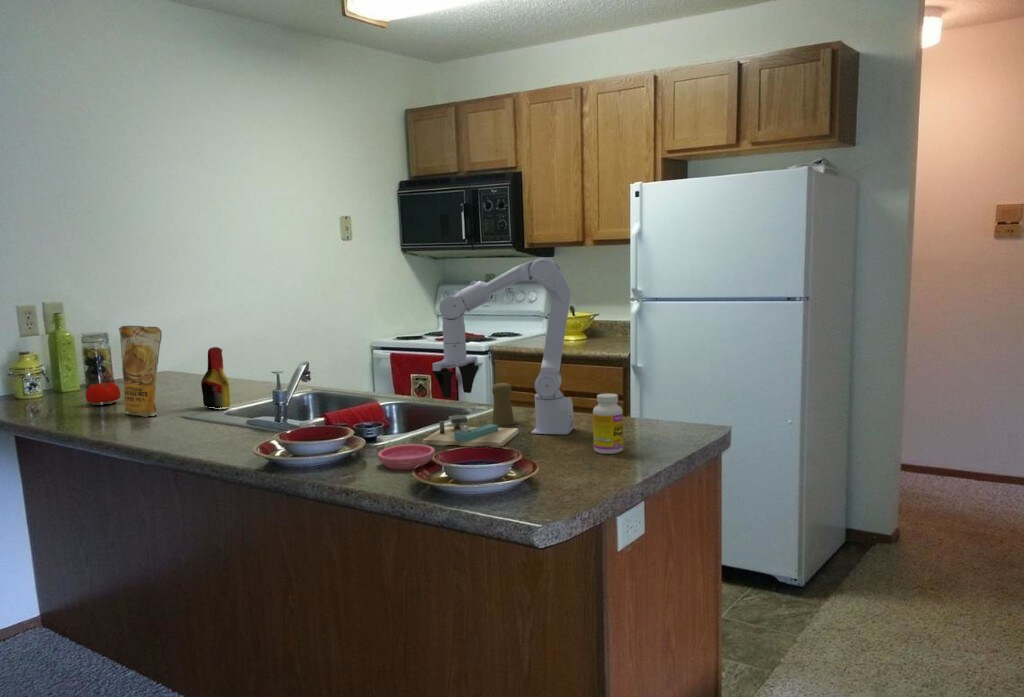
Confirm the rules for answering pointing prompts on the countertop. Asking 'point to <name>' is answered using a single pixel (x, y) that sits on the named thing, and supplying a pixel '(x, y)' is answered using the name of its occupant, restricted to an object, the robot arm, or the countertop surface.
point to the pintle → (465, 428)
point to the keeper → (453, 422)
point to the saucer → (406, 456)
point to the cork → (502, 405)
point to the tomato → (102, 392)
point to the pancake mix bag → (140, 366)
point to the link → (475, 432)
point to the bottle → (215, 381)
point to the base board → (486, 440)
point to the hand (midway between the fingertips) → (457, 395)
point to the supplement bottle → (608, 425)
